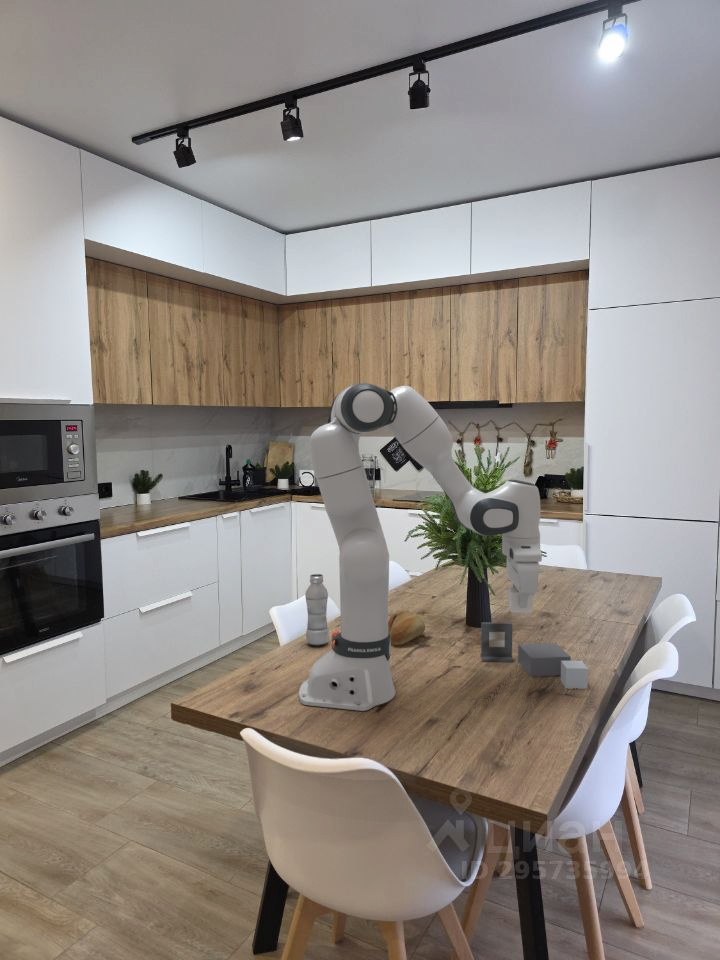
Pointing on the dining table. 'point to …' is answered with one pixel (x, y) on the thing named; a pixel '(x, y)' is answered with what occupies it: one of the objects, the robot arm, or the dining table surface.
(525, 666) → the base block
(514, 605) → the ivory cube
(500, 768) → the dining table surface
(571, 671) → the grey blue cube
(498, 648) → the standing grey panel
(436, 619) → the dining table surface
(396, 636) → the bread roll
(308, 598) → the plastic bottle
